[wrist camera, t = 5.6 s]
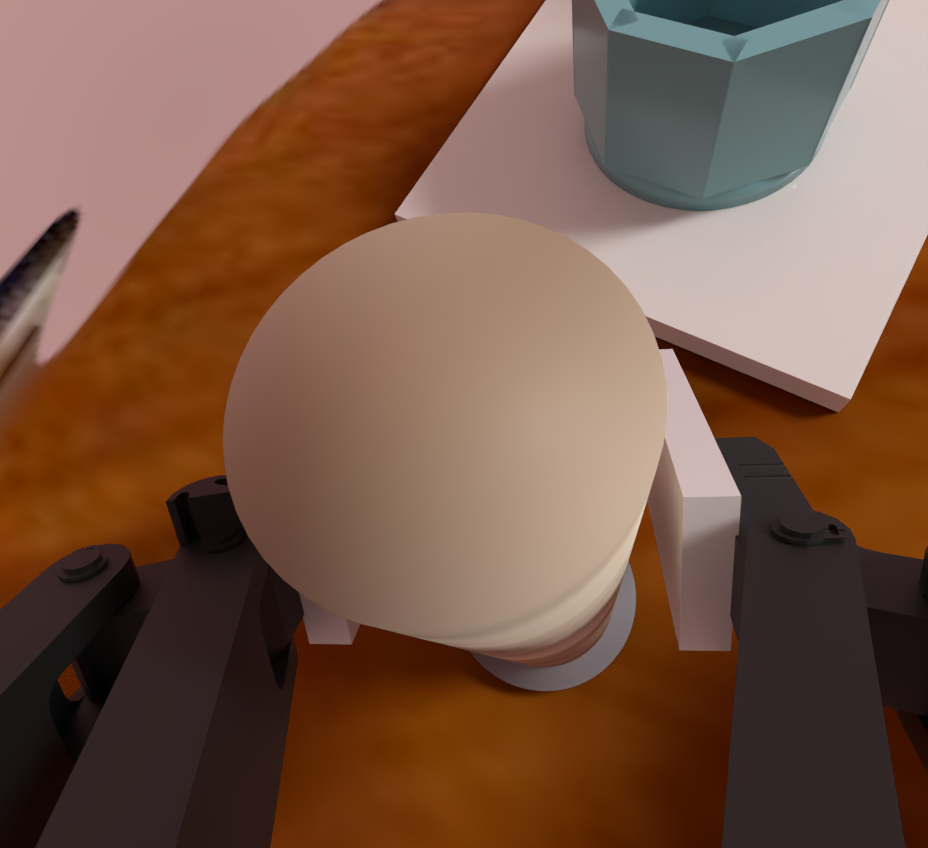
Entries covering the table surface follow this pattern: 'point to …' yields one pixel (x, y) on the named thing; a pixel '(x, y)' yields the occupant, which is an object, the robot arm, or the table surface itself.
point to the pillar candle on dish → (455, 441)
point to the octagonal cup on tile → (717, 168)
